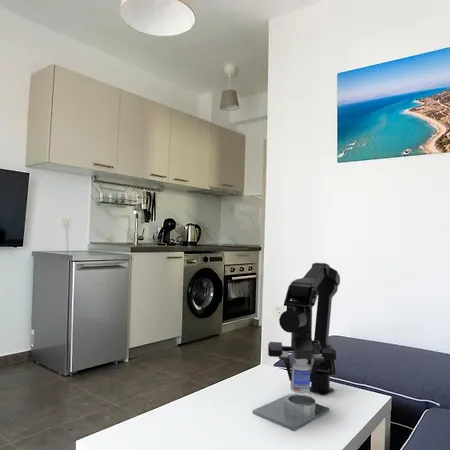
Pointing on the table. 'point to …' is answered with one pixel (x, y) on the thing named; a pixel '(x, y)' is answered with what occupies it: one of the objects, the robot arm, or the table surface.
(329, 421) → the table surface
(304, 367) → the pill bottle
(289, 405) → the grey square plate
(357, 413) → the table surface
